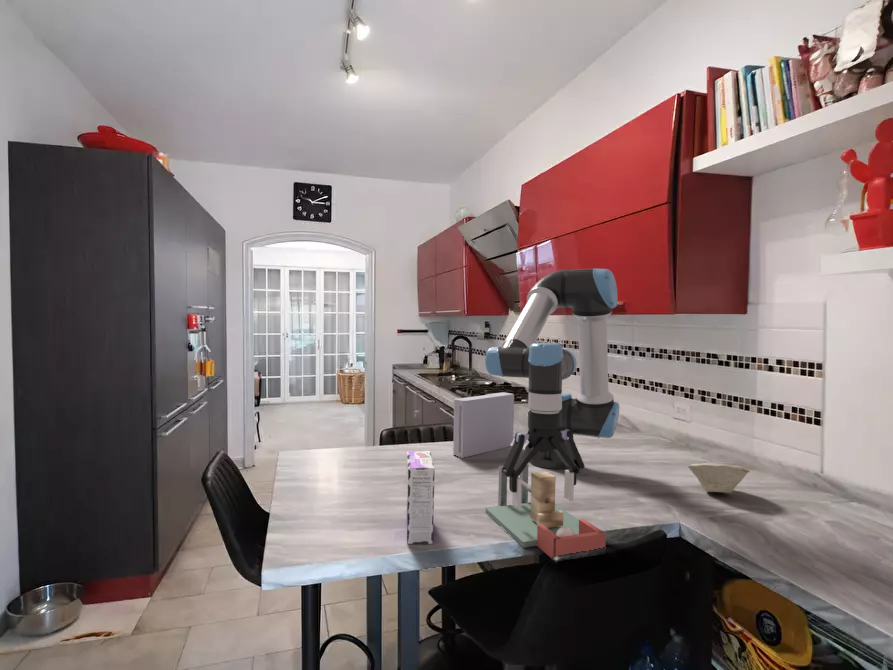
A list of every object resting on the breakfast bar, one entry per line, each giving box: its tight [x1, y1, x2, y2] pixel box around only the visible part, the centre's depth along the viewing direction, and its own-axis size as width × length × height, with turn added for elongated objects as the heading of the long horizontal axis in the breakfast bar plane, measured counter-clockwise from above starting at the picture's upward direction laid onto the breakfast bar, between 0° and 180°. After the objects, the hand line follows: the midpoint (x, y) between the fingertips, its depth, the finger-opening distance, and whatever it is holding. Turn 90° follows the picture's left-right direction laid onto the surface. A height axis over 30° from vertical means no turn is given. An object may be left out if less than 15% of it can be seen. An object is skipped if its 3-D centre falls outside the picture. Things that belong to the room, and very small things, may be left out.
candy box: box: [406, 450, 436, 545], centre depth 112 cm, size 14×6×16 cm, turn 5°
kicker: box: [521, 471, 564, 528], centre depth 120 cm, size 6×20×11 cm, turn 19°
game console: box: [452, 391, 515, 459], centre depth 182 cm, size 6×27×20 cm, turn 133°
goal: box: [536, 518, 607, 559], centre depth 103 cm, size 11×8×4 cm
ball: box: [556, 527, 575, 537], centre depth 105 cm, size 4×4×4 cm
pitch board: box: [485, 502, 579, 549], centre depth 116 cm, size 18×20×1 cm
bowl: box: [688, 462, 750, 494], centre depth 140 cm, size 15×14×10 cm
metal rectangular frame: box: [497, 464, 529, 506], centre depth 128 cm, size 8×2×10 cm, turn 109°
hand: (543, 502), depth 114 cm, fingers open, 13 cm apart
